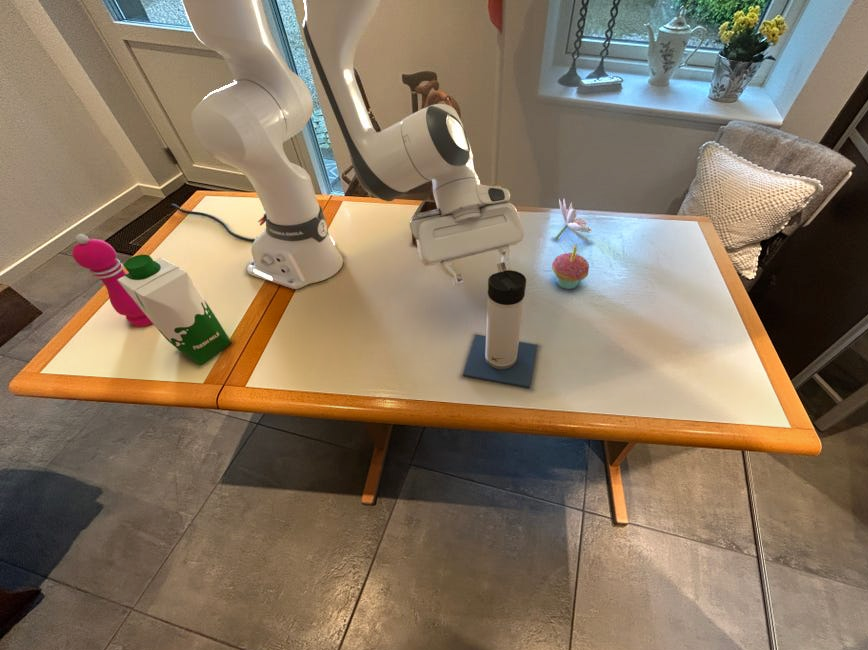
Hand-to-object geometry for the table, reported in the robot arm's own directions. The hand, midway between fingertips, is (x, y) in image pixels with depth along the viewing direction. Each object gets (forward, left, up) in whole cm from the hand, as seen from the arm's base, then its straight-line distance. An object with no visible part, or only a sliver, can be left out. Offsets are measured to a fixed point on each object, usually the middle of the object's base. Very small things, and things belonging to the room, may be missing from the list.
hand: (481, 278), depth 75 cm
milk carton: (-53, -18, -14) cm, 58 cm away
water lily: (+17, +40, -14) cm, 46 cm away
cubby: (-18, +32, -14) cm, 39 cm away
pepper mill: (-71, -13, -14) cm, 74 cm away
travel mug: (+6, -8, -13) cm, 16 cm away
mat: (+6, -8, -14) cm, 17 cm away
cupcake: (+17, +20, -14) cm, 30 cm away
